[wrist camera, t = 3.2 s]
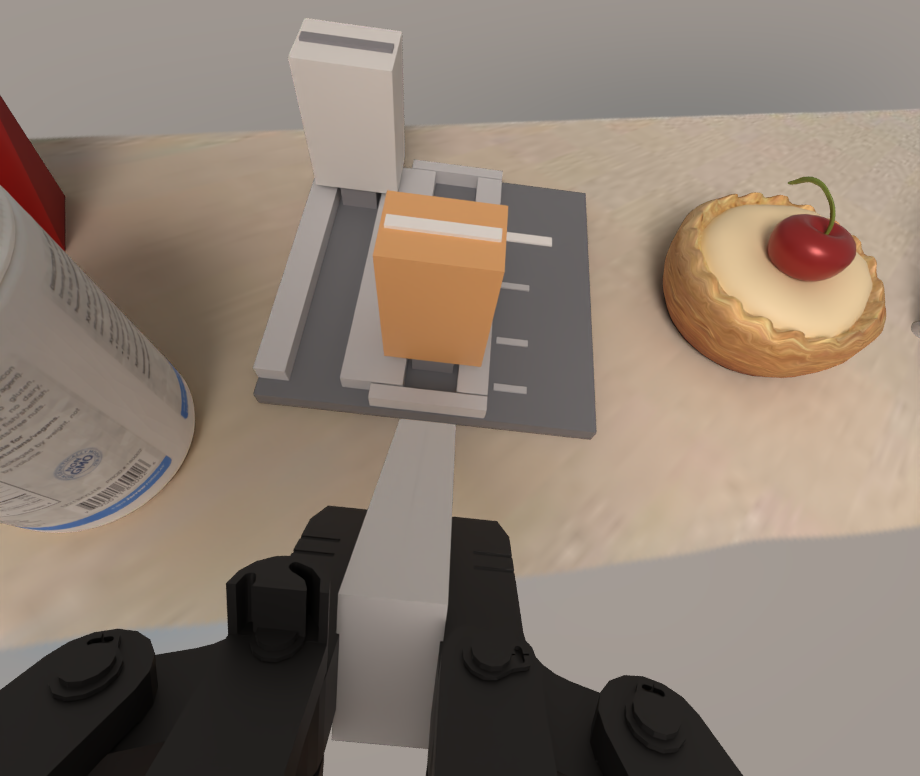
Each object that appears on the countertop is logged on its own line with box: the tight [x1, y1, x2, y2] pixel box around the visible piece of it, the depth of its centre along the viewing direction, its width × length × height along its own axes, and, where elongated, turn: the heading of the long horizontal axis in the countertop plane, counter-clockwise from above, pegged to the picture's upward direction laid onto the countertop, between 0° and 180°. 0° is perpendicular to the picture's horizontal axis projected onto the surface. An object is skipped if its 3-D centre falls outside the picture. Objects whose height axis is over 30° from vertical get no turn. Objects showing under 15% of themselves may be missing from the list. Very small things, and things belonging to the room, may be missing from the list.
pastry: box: [663, 177, 886, 378], centre depth 27 cm, size 12×12×9 cm
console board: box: [253, 18, 596, 439], centre depth 26 cm, size 18×18×10 cm
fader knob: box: [373, 190, 508, 373], centre depth 23 cm, size 5×4×9 cm
